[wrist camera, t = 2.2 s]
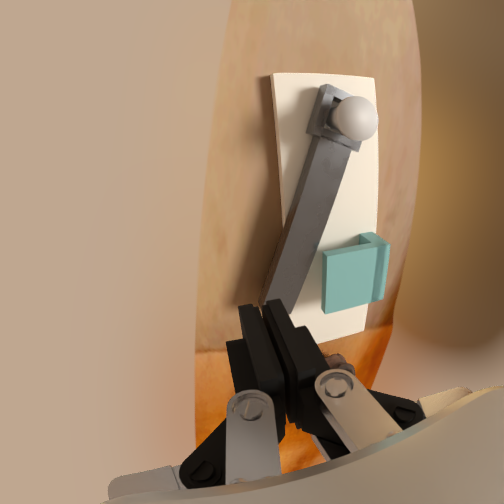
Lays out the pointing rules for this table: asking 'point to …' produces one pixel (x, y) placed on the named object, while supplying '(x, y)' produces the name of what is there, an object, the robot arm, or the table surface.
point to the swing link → (309, 203)
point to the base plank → (351, 188)
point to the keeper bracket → (354, 274)
